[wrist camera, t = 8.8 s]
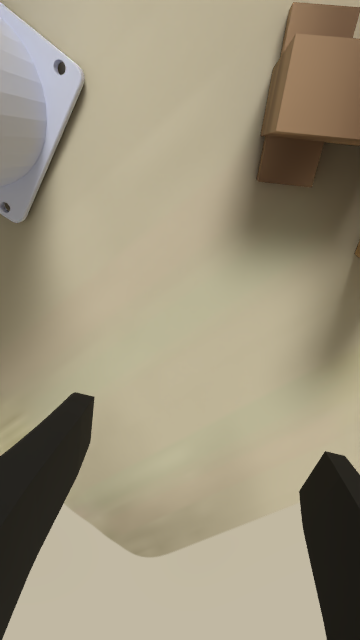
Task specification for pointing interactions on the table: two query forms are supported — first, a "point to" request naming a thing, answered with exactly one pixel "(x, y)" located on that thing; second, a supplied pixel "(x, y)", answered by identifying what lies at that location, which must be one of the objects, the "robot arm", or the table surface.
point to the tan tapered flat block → (358, 250)
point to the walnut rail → (311, 93)
